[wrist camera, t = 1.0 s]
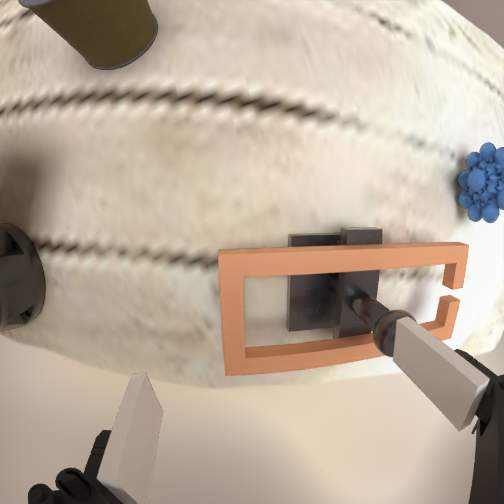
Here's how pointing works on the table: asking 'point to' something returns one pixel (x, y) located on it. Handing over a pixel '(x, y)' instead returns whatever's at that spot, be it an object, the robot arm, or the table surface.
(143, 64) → the table surface
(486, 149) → the grapes
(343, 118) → the table surface
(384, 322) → the stand
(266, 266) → the link
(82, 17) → the canister
